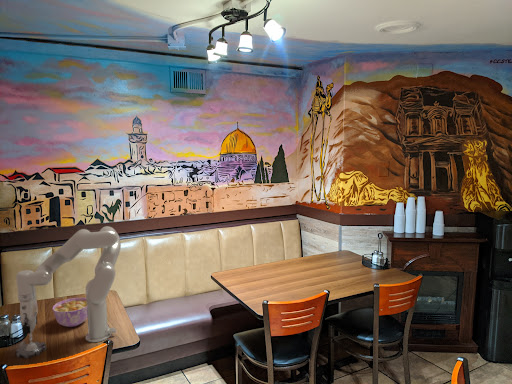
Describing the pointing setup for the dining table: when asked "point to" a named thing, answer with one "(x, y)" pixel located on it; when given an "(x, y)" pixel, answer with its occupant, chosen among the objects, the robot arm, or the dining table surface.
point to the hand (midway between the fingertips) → (30, 328)
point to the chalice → (32, 324)
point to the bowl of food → (71, 311)
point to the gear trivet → (27, 354)
